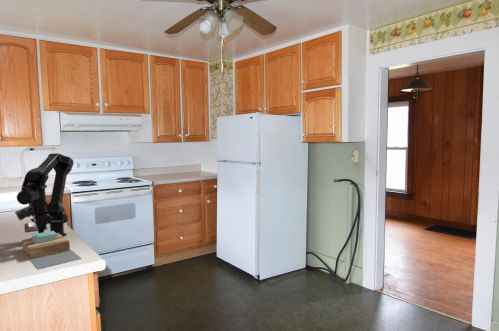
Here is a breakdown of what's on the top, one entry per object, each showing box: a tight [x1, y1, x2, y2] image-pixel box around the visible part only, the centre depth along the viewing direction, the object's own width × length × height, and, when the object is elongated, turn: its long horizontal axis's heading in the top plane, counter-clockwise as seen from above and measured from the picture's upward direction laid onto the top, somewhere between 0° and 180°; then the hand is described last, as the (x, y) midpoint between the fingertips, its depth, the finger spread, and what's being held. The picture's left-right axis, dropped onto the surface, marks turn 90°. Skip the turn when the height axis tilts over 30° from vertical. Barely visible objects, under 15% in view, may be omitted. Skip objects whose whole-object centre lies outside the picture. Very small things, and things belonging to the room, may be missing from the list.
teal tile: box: [31, 230, 57, 244], centre depth 148 cm, size 6×8×2 cm
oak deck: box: [21, 233, 71, 259], centre depth 148 cm, size 16×14×4 cm
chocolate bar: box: [24, 222, 48, 233], centre depth 183 cm, size 9×1×18 cm
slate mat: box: [29, 249, 82, 270], centre depth 137 cm, size 13×15×1 cm
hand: (40, 235), depth 153 cm, fingers closed
